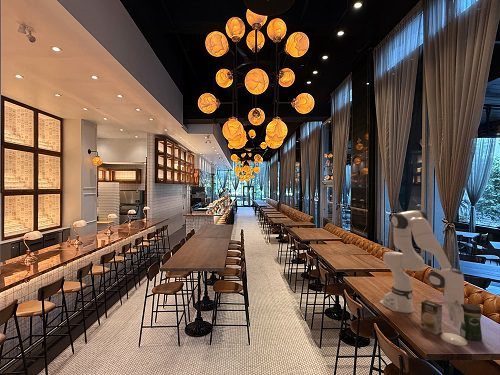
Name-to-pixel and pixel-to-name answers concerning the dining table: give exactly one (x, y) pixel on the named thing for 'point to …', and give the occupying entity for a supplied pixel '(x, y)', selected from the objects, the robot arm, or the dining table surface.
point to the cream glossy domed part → (454, 339)
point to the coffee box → (431, 316)
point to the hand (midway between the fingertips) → (453, 323)
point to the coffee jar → (471, 322)
